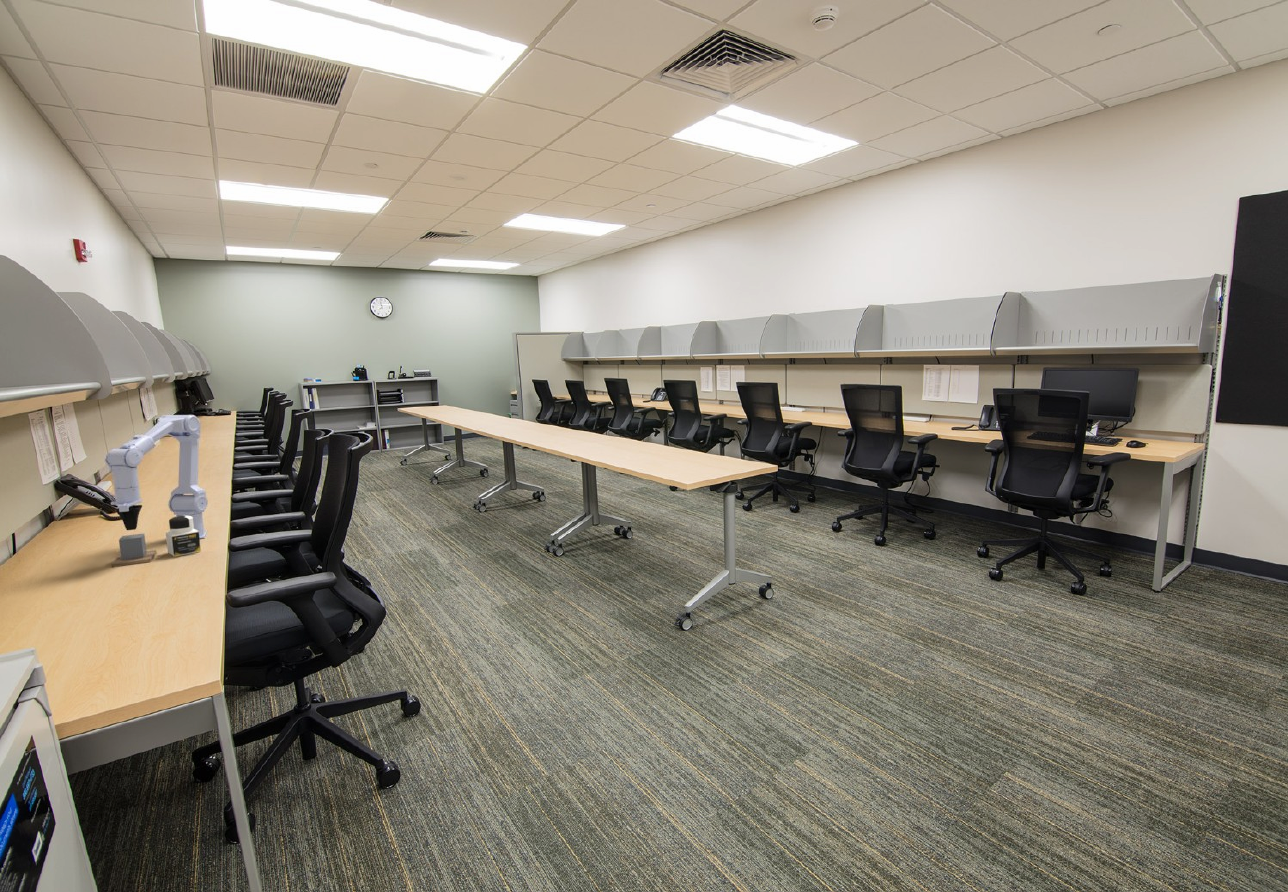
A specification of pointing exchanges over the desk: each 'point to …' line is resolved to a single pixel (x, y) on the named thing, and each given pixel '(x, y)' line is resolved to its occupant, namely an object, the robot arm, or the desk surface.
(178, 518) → the medicine bottle
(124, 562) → the stand
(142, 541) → the grey block
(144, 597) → the desk surface
